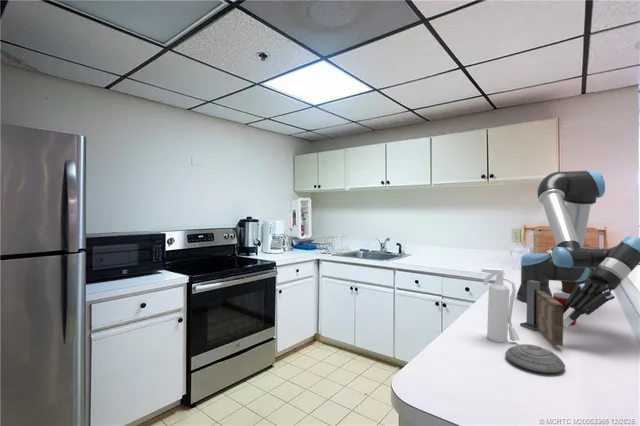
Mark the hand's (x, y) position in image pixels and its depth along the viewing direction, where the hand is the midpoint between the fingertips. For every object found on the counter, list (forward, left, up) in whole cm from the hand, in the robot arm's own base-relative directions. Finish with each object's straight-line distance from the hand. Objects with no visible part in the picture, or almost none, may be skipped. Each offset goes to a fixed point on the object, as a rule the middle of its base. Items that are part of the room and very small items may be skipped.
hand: (561, 324), depth 110 cm
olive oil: (-19, +85, -7) cm, 87 cm away
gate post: (-12, +11, -7) cm, 18 cm away
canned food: (-7, +28, -7) cm, 30 cm away
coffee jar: (-20, +112, -7) cm, 114 cm away
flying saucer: (-1, -21, -8) cm, 22 cm away
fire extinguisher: (-15, -11, -7) cm, 20 cm away
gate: (-5, +3, -6) cm, 8 cm away
